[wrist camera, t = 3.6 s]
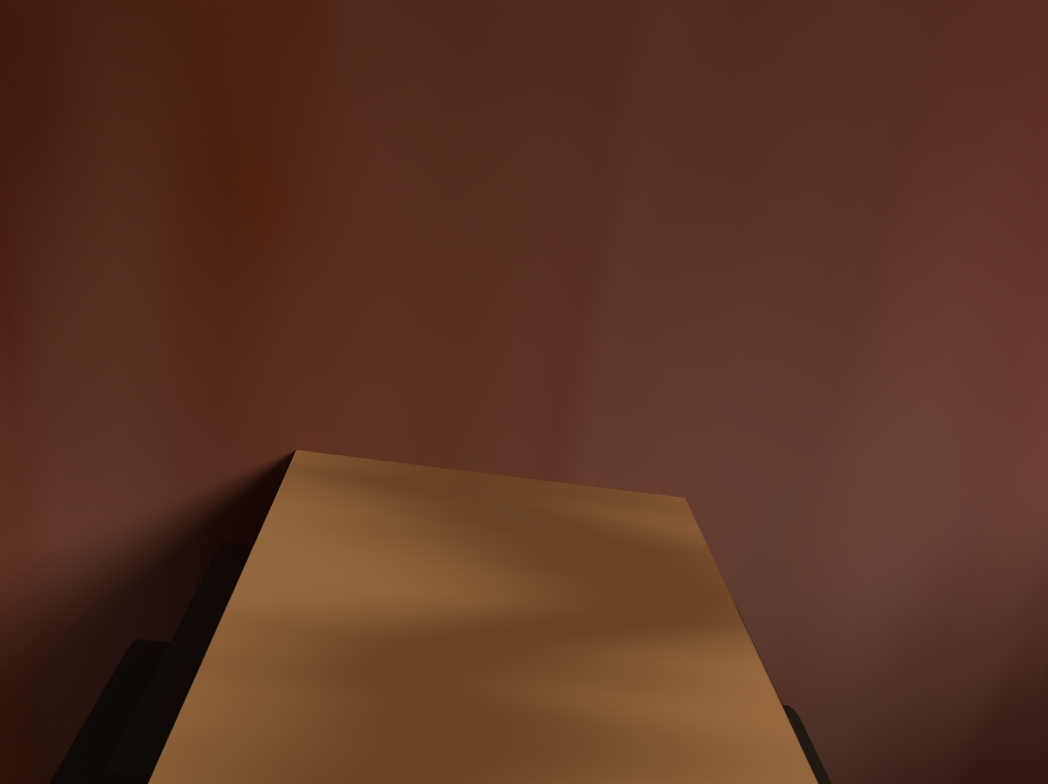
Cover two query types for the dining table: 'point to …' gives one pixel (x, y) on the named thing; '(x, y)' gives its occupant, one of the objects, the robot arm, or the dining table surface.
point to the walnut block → (477, 642)
